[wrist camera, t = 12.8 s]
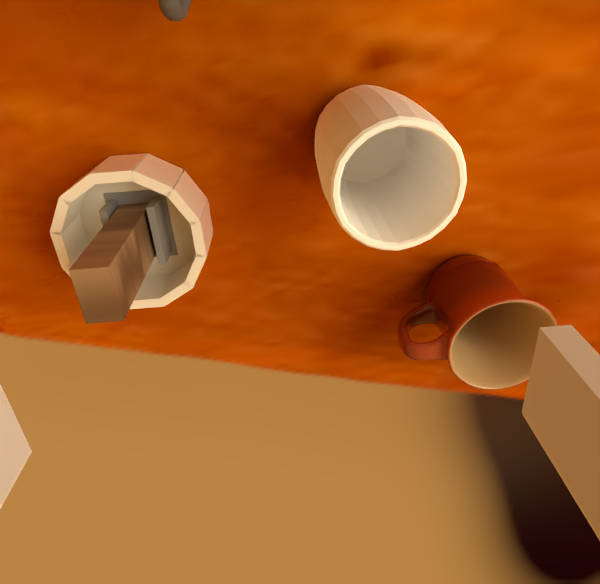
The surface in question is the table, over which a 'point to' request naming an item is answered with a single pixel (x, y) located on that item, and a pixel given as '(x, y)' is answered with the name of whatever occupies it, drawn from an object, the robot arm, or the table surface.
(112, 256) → the tall brown wooden block
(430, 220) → the cup
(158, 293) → the white round bowl
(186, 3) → the mug
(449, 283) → the mug
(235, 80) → the table surface
